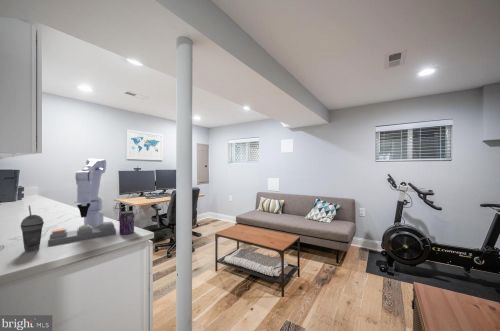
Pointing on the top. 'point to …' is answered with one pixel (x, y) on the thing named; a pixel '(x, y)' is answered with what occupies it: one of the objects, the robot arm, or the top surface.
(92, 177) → the robot arm
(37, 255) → the top surface
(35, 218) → the beverage cup
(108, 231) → the button panel
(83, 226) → the sage button
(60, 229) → the terracotta button
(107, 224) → the slate button
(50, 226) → the top surface
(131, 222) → the beverage can
